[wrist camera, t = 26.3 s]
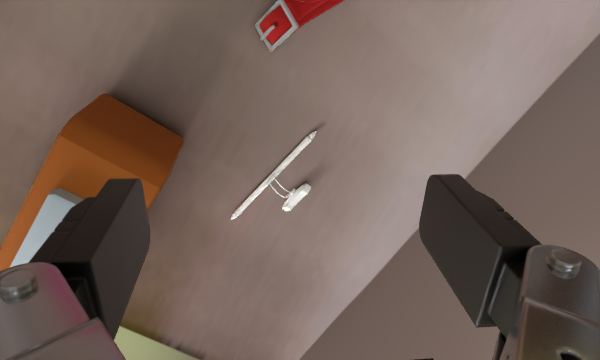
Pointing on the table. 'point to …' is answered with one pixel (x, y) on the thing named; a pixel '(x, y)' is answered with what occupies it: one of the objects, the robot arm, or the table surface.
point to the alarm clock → (90, 170)
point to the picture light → (293, 195)
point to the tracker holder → (289, 19)
